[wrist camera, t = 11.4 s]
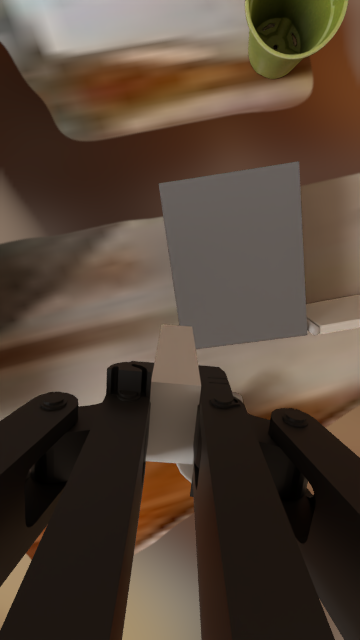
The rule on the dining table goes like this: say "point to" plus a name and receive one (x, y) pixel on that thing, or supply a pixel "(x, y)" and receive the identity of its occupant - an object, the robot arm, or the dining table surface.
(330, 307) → the door
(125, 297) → the dining table surface
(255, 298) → the box housing
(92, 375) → the dining table surface
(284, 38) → the plant pot
